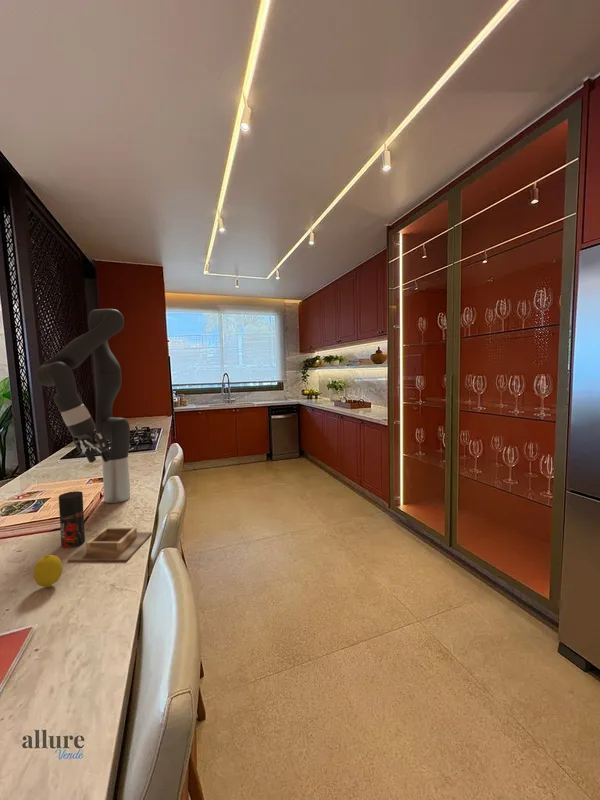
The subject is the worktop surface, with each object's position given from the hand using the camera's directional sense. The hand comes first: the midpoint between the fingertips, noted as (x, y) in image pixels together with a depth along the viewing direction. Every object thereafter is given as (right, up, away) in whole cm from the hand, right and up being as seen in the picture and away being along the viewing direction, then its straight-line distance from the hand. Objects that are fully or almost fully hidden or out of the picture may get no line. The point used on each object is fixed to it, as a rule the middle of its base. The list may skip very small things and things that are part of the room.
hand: (100, 461), depth 121 cm
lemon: (+10, -24, -38) cm, 46 cm away
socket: (+15, -22, -19) cm, 33 cm away
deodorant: (+2, -22, -17) cm, 28 cm away
